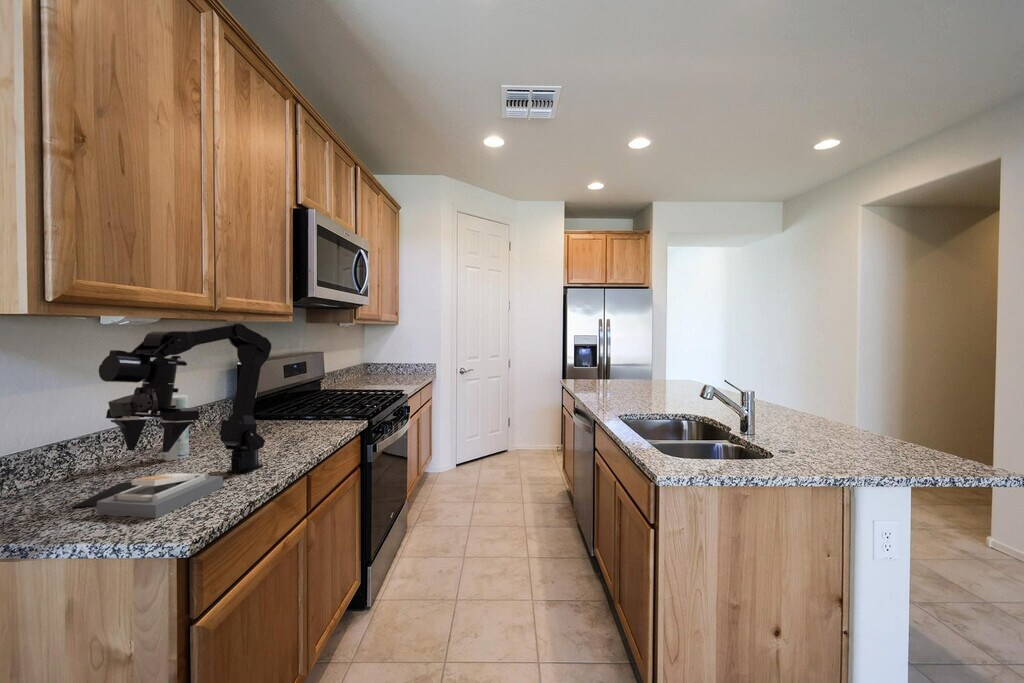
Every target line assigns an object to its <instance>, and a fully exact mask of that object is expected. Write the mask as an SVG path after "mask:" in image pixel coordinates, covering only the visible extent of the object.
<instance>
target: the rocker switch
mask: <svg viewBox="0 0 1024 683" xmlns="http://www.w3.org/2000/svg"><path fill="white" fill-rule="evenodd" d="M182 473H183V472H172V473H166V474H161V475H151V476H144V477H137V478H134V479H131V482H132V485H141V486H158V485H164V484H169V483H175V482H181V481H186V480H192V479H194V478H195V474H196V473H193V474H182Z"/></svg>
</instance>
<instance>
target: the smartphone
mask: <svg viewBox="0 0 1024 683" xmlns="http://www.w3.org/2000/svg"><path fill="white" fill-rule="evenodd" d="M137 486H140V485H132V481H130V482H129V481H128V482H119V483H117V484H115V485H113V486H111V487H109V488H107V489H104V490H103V491H101V492H99V493H97V494H95V495H93V496H91V497H88V498H87V499H85V500H83V501H80V502H79V503H76V504H75V505H73V506H72V507H71V508H72V510H77V508H80V509H87V508H86V507H92V508H94V507H93V506H97V501H100V500H103V499H105V498H108V497H111V496H114V495H115V494H118V493H121V492H123V491H126V490H129V489H132V488H134V487H137Z"/></svg>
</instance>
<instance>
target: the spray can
mask: <svg viewBox="0 0 1024 683" xmlns="http://www.w3.org/2000/svg"><path fill="white" fill-rule="evenodd" d="M188 398H189V397H188V394H176V395H175V394H173V397H172V404H171V405H176V408H189V401H188V400H189V399H188ZM161 422H168V421H163V420H162V419H161ZM161 427H162V426H161ZM161 430H162V434H161V435H162V437H163V436H164V428H163V427H162V428H161ZM189 440H190V438H189V426H188V427H187V428H186V429H185V431H184V432H183V433H182V434H181V435H180V437H179V438H178V439H177V441H176V442H175V444H174V445H173V446H172V448H171V449H170V451H169V452H163V451H162V454H163V455H162V456H163V461H164V460H166V461H165V462H173V461H172V460H176V461H179V460H178V459H181V460H184V459H187V458H189V456H190V454H189V453H190V448H189V447H190V446H189V444H190V441H189ZM186 457H187V458H186ZM183 458H184V459H183Z"/></svg>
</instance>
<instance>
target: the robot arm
mask: <svg viewBox="0 0 1024 683" xmlns="http://www.w3.org/2000/svg"><path fill="white" fill-rule="evenodd" d="M224 340H228V341H229V343H230V344H231V345H232V346H233V347H234V348H235V349H237V350H236V352H237V353H236V354H237V355H236V357H237V359H238V360H239V363H240V371H239V377H238V381H237V387H236V392H235V399H234V402H233V409H232V413H231V415H230V416H229V418H228V419H223V420H222V421H221V422H220V431H219V433H218V435H220V437H219V438H220V442H221V443H223V445H224V447H225V449H226V451H229V450H230V451H231V457H230V466H231V468H230V469H227V473H233V474H235V473H236V474H248V473H250V472H252V471H255V470H257V469H259V468H262V467H263V466H264V464H263V463H259V450H261V449H262V448H264V446H265V442H266V439H265V438H263V437H262V435H260V434H258V433H257V430H258V429H257V428H258V426H257V425H258V424H257V422H256V420H255V418H254V417H255V416H254V408H255V402H256V398H257V390H258V385H259V379H260V373H261V369H262V367H263V365H264V364H265V363H266V361H267V360H268V359H269V356H270V354H271V351H272V342H270V339H268V338H267V337H265V336H263V335H262V334H260V333H258V332H256V331H255V330H252V329H250V328H248V327H247V326H245V325H244V324H242V323H240V322H228V323H225V324H220V325H219V324H218V325H213V326H208V327H203V328H197V329H192V330H178V331H177V330H176V331H175V330H168V331H167V330H164V331H163V330H162V331H161V330H160V331H159V330H158V331H156V330H155V331H150V332H147V333H146V335H145V337H144V339H143V341H142V342H140V344H139V345H137V346H136V347H135V348H134V349H133V350H131V351H129V352H128V351H125V350H121V349H120V350H119V349H114V350H113V349H111V350H109V354H108V356H106V357H105V358H104V359H103V360H102V362H101V364H100V365H99V367H98V376H99V377H100V379H101V380H102V381H103V382H107V383H108V382H110V383H113V382H114V383H134V384H135V383H136V384H137V383H140V382H141V386H138V387H137V386H136V387H135V389H134V392H133V394H129V395H125V396H123V397H119V398H116V399H112V400H109V401H108V402H107V403H108V409H107V411H106V416H105V418H106V419H110V422H111V423H114V424H115V425H117V426H118V427H119V428H120V429H121V432H122V435H123V437H124V438H123V439H124V442H125V445H126V447H127V451H134V450H135V449H136V447H137V445H138V443H139V441H140V437H141V436H142V433H143V430H144V427H145V425H146V422H147V419H146V418H161V421H160V422H158V423H159V425H160V426H161V427H163V428H164V436H163V435H162V453H163V452H169V451H170V449H171V448H172V446H173V445H174V444H175V442H176V441H177V439H178V438H179V437H180V435H181V434H182V433H183V432H184V431H185V429H186V428H187V427H188V428H189V426H190V425H191V424H194V421H199V419H200V418H199V417H200V410H199V409H198V408H196V407H188V408H176V405H171V404H172V397H173V395H174V394H175V393H177V394H178V393H179V387H178V388H177V387H176V388H175V382H176V375H177V369H178V367H179V366H181V367H183V366H184V367H185V366H188V363H187V362H186V361H185V360H184V359H182V357H181V355H180V354H182V353H185V352H187V351H190V350H192V349H193V348H194V347H196V346H199V345H204V344H209V343H213V342H214V343H215V342H219V341H224ZM168 356H171V357H168ZM151 359H153V360H151ZM162 420H163V421H168V422H162Z"/></svg>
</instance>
